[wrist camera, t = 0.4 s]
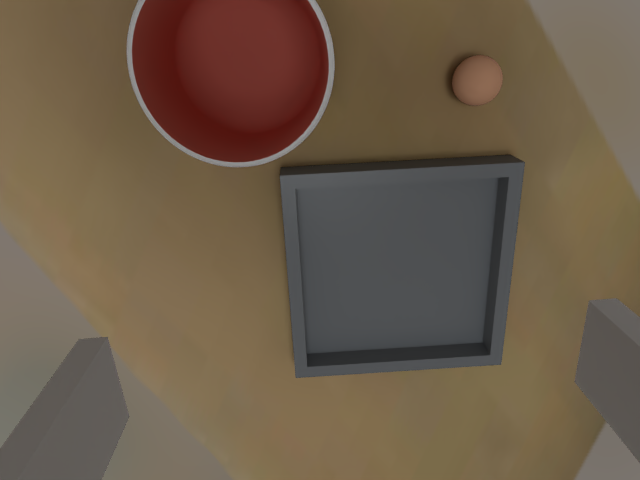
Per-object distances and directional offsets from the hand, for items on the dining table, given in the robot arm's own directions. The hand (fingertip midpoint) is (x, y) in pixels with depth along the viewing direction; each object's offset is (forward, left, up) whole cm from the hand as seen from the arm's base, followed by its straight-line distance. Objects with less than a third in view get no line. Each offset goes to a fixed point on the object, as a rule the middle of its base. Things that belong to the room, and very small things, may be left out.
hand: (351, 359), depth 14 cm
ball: (-5, +11, -24) cm, 27 cm away
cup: (-7, -4, -24) cm, 25 cm away
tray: (+9, +6, -24) cm, 26 cm away
